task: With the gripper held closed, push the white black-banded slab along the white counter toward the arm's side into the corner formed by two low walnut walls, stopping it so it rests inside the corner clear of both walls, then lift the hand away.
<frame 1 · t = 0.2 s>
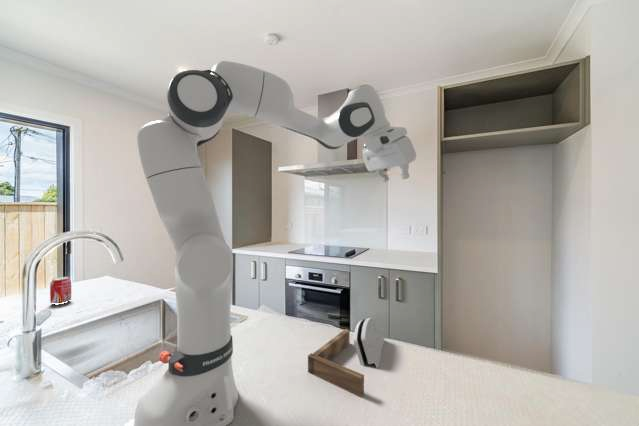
hand: (395, 179, 82), 54 cm above the worktop, tool tilted 30°, fingers open, 8 cm apart
white black-banded slab: (369, 351, 80), on the worktop
wooden corner bracket: (350, 365, 72), on the worktop
soda can: (61, 303, 121), on the worktop
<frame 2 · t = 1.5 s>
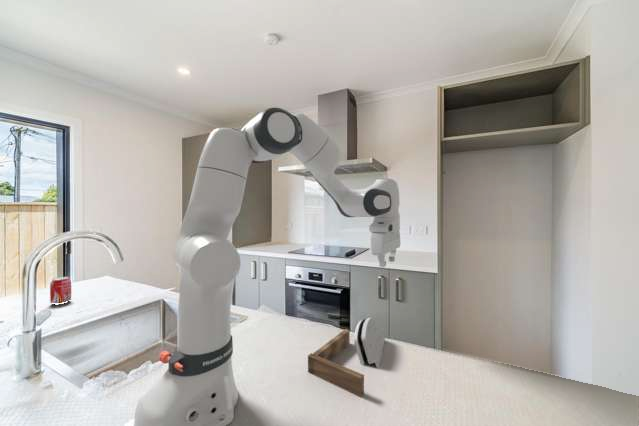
hand: (387, 263, 91), 25 cm above the worktop, tool pointing down, fingers open, 8 cm apart
nothing on the worktop moved.
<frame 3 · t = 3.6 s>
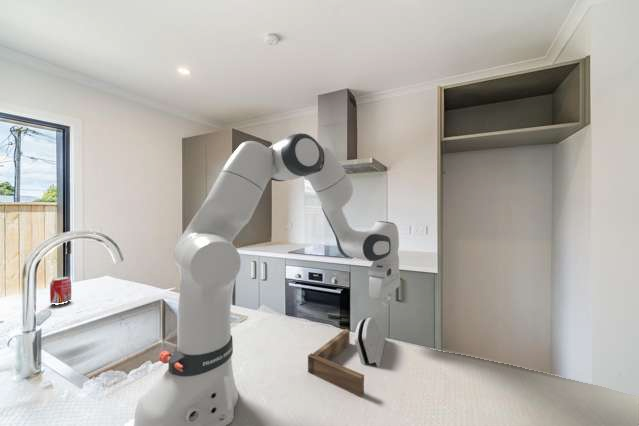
hand: (386, 304, 91), 10 cm above the worktop, tool pointing down, fingers closed
nothing on the worktop moved.
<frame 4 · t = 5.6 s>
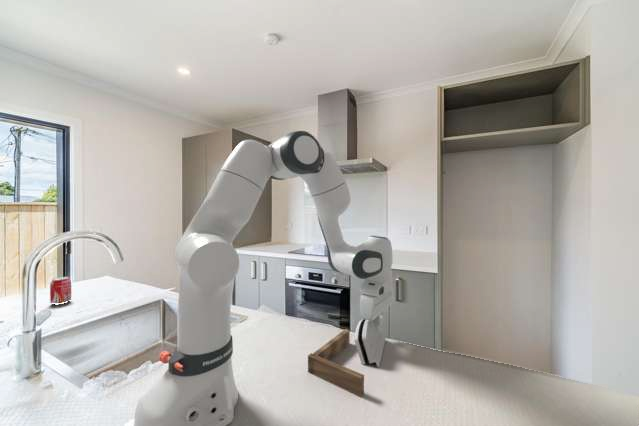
hand: (378, 324, 86), 5 cm above the worktop, tool pointing down, fingers closed
white black-banded slab: (370, 350, 80), on the worktop, touching gripper
everything else where it was.
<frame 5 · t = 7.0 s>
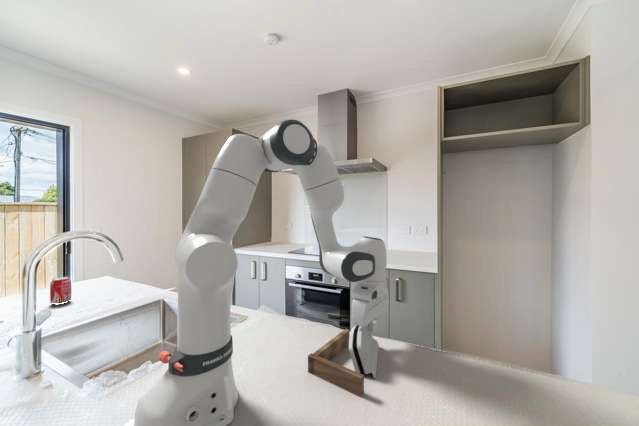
hand: (372, 329, 82), 6 cm above the worktop, tool pointing down, fingers closed
white black-banded slab: (364, 359, 75), on the worktop, touching gripper
everything else where it was.
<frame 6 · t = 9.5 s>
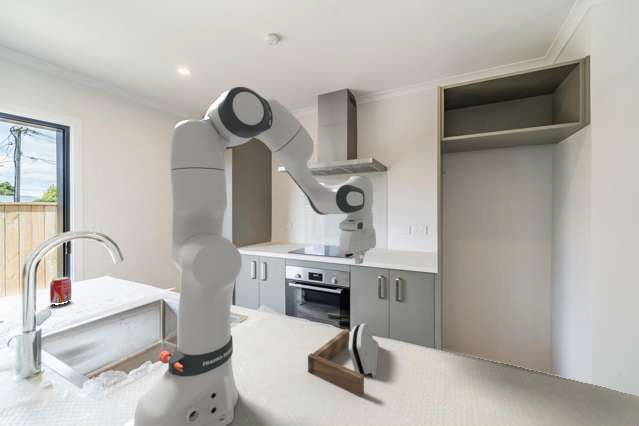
hand: (359, 263, 88), 26 cm above the worktop, tool pointing down, fingers closed
white black-banded slab: (364, 359, 76), on the worktop
everything else where it was.
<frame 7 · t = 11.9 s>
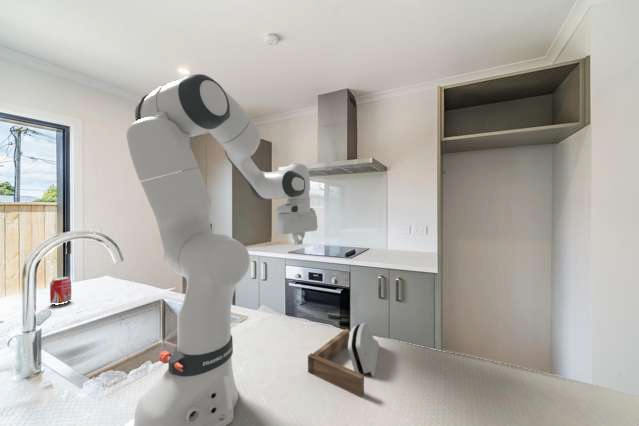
hand: (298, 244, 97), 31 cm above the worktop, tool pointing down, fingers closed
nothing on the worktop moved.
at the end: white black-banded slab inside the target area (2.5 cm from its centre), on the worktop; white black-banded slab touching worktop; white black-banded slab moved 4.5 cm from its start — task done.
